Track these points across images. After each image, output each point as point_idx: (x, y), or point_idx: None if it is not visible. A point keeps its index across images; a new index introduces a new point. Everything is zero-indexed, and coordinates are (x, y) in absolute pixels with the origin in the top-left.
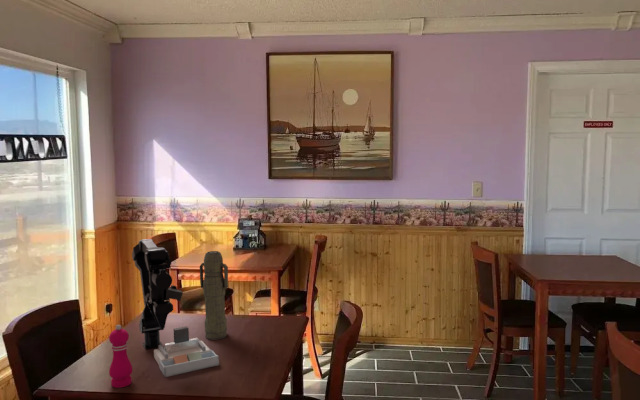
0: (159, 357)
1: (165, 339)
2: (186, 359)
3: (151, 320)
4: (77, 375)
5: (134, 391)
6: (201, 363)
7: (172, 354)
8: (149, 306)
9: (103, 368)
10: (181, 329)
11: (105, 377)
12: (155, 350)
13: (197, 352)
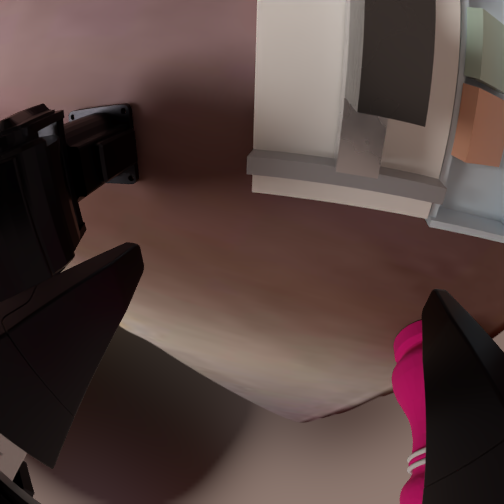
0: (393, 209)
1: (63, 82)
2: (496, 103)
3: (42, 230)
4: (268, 385)
5: (493, 325)
6: None
7: (402, 132)
8: (58, 440)
9: (258, 341)
10: (432, 46)
11: (338, 355)
12: (268, 188)
13: (485, 23)
